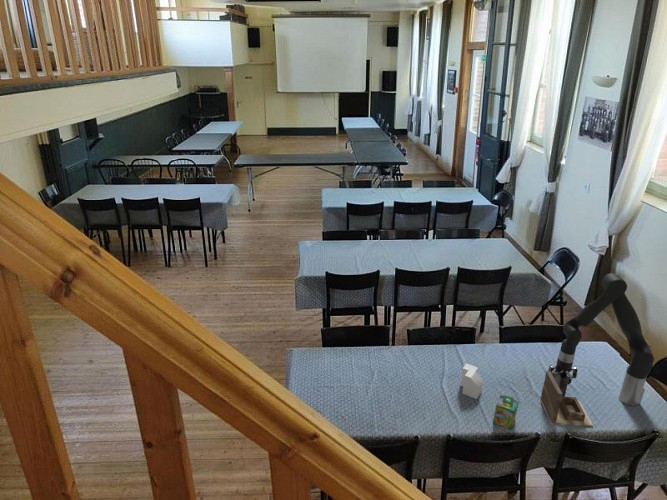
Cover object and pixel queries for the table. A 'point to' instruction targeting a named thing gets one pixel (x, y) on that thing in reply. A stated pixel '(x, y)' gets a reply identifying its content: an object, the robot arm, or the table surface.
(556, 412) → the post socket
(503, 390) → the table surface
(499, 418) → the chalk box
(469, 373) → the white stepped block
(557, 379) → the dark grey block
